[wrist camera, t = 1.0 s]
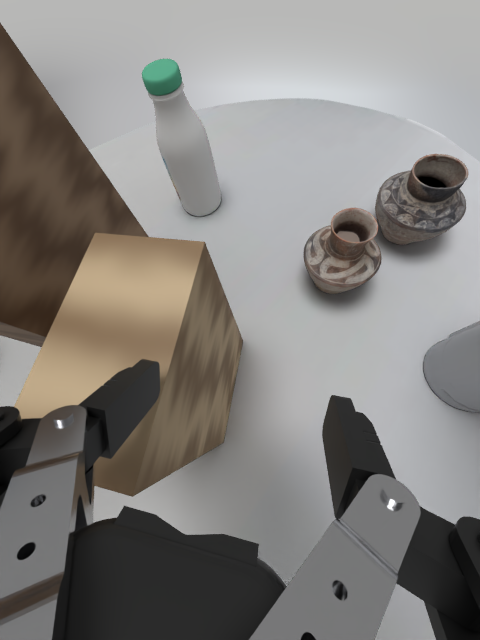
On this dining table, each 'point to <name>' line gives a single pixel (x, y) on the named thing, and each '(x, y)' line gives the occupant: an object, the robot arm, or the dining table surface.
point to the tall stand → (45, 201)
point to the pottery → (387, 223)
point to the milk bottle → (182, 139)
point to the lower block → (143, 351)
